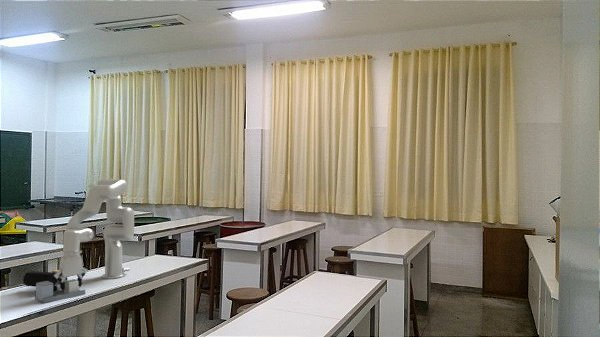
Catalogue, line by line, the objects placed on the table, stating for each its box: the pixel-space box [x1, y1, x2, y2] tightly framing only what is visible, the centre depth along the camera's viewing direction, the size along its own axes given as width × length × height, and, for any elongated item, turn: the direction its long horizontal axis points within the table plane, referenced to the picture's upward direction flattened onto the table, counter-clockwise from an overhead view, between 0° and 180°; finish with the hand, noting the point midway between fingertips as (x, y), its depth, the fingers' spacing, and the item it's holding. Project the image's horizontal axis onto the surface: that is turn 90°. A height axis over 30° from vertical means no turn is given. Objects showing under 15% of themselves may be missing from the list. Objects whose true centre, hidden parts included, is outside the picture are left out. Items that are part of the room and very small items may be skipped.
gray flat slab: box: [34, 289, 86, 305], centre depth 213 cm, size 20×10×2 cm, turn 142°
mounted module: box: [35, 281, 53, 301], centre depth 207 cm, size 5×7×8 cm
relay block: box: [51, 269, 68, 286], centre depth 239 cm, size 5×6×7 cm
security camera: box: [22, 270, 60, 291], centre depth 221 cm, size 7×18×10 cm, turn 78°
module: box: [64, 278, 79, 293], centre depth 217 cm, size 5×6×6 cm
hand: (71, 287), depth 217 cm, fingers open, 7 cm apart
